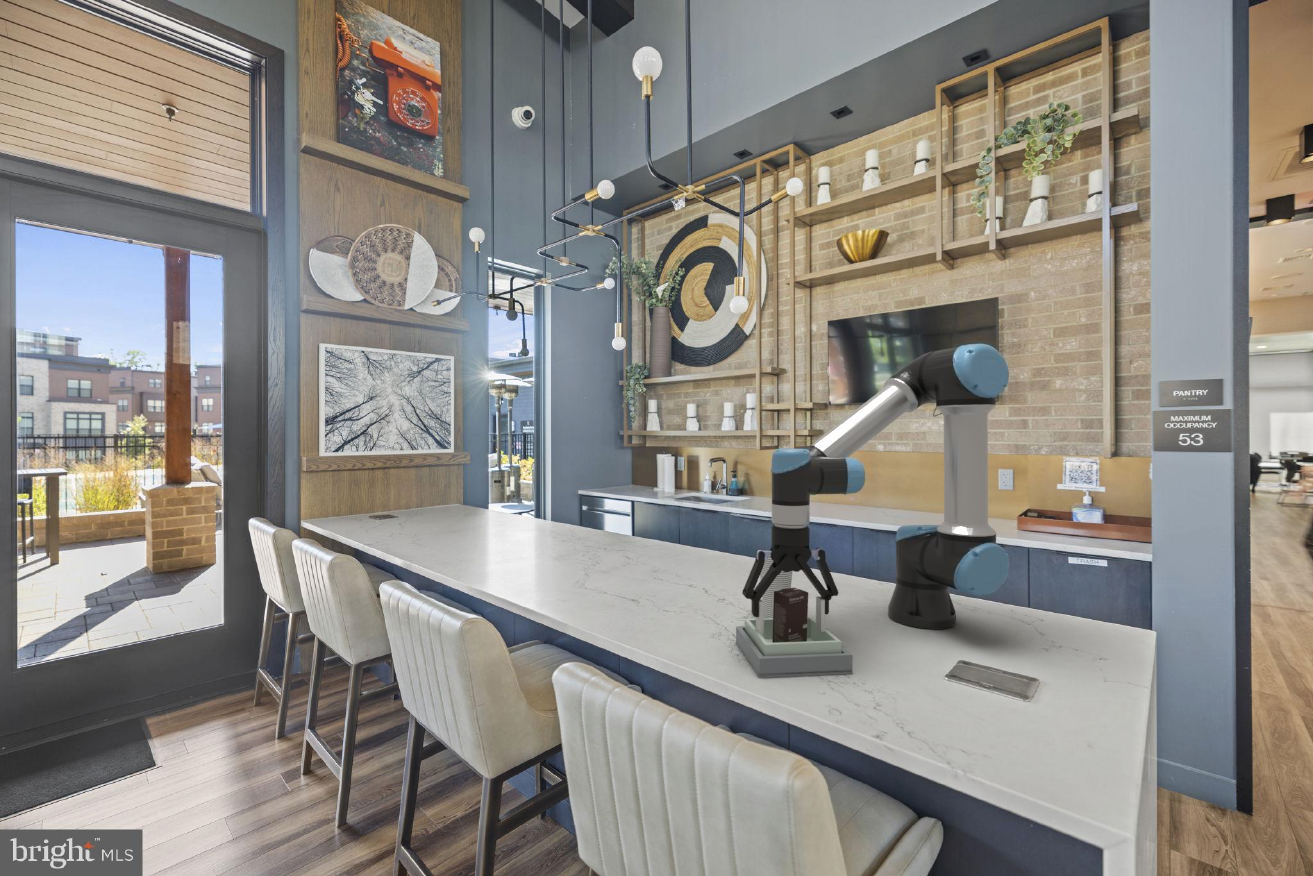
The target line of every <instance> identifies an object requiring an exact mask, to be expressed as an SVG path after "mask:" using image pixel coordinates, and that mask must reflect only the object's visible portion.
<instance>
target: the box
mask: <svg viewBox="0 0 1313 876" xmlns="http://www.w3.org/2000/svg"><path fill="white" fill-rule="evenodd" d="M808 607H809V591H806V590H803V589H800V588H797V587H791V588H789V589H782V590H778V591H774V606H773V639H772V643H781V642H807V617H808V615H809V614H808V613H809V612H808V611H809V610H808V609H809V608H808Z"/></svg>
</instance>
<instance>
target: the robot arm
mask: <svg viewBox="0 0 1313 876" xmlns="http://www.w3.org/2000/svg"><path fill="white" fill-rule="evenodd" d="M1007 363H1008V362H1007V361H1006V359H1005V358H1004V356H1003V354H1001V353H999V351H998V349H997V348H995V347H993V346H991V345H989V344H985V343H972V344H971V343H970V344H969V343H968V344H963V345H960V346H954V347H949V348H945V349H940V350H939V349H938V350H931V351H929V352H927V353H924V354H922V355H920V356H919V357H917V358H914V359H913V360H912V361H910V362H909V363H908V364H906V365H904V366H903V367H902V368H901V369H899V370H898V371H897V372H895V373H894V374H893V375H892V376H890V377H889V378H888V379H886V380H885V382H884V383H883V388H882V389H881V390H879V391H878V392H876V393H875V395H873V396H871V397H870V398H869V399H868V400H867V401H865V402H864V403H863V404H862V405H860V406H859V407H857V408H856V409H855V410H854V411H852V413H850V414H848V415H847V416H846V417H845V418H844V419H842V420H841V421H840V422H839V423H837V424H836V425H835V426H833V427H832V428H831V429H829V431H827V432H825V434H823V435H822V436H821V437H820V438H818V439H817V440H816V441H814V442H813V443H812V444H811V445H809V446H807V447H806V448H777V449H775V450H774V451H773V452H772V455H771V456H772V458H771V469H770V472H771V473H770V474H771V523H773V525H772V526H771V547H770V549H769V550H761V549H759V548H758V549H756V550H755V560H754V563H753V565H752V567H751V570H750V572H749V575H748V577H747V579H746V582H745V585H744V587H743V590H742V595H743V596H744V598H746V599H747V600H751V601H750V602H751V615H752V616H753V617H754V618H755V619H756V629H757V630H758V631H759V633H760V634H761V635H764V618H765V617H764V602H763V601H762V596H763V595H764V593H765V592H766V591H767V589H768V588H769V586H770V585H771V584H772V582H773V581H774V579H775V578H776V577H777V575H779V574H780V573H781V571H784V572H790V571H792V572H796V573H800V571H801V572H803V575H805V577H806V578H807V579H808V580H809V582H810V583H811V585H812V586H813V587H814V589H815V590H816V591H817V592H818V594H819V595H820V596H817V595H816V596H815V618H816V619H815V620H816V628H817V629H818V630H819V631H820V632H825V628H826V626H825V625H826V618H825V617H826V616H825V615H829V614H830V601H831V600H832V599H833V597H837V596H838V595H839V590H838V588H837V585H836V583H835V580H834V578H833V576H832V573H831V571H830V569H829V566H828V563H827V562H826V561H827V560H826V559H827V558H826V551H825V550H824V549H823V548H820V547H816V548H814V549H811V547H810V543H811V542H810V541H811V540H810V539H811V537H810V536H811V535H810V534H811V533H810V527H809V526H808V525H809V524H810V523H811V522H810V517H811V516H810V510H811V508H810V502H811V496H816V495H844V496H846V495H849V494H856V493H859V492H860V491H861V490H862V489H863V487H864V486H865V484H866V483H865V482H866V470H865V467H864V465H863V463H862V462H861V460H859V459H858V458H855V457H850V456H852V455H853V454H855V452H857V451H858V450H859V449H861V448H862V447H863V446H865V444H867V443H868V442H869V441H870V440H872V439H873V438H874V437H876V436H877V435H878V434H880V433H881V432H882V431H884V429H886V428H887V427H888V426H889V425H891V424H893V422H895V421H896V420H897V419H898V418H900V417H901V416H902V415H904V414H905V413H912V412H914V411H915V410H917V409H918V408H919V407H921V406H923V405H926V404H929V403H932V402H935V406H936V407H935V408H936V409H937V410H938V411H939V412H940V413H941V415H943V517H944V518H943V522H942V523H940V524H911V525H901V526H899V527H898V528H897V530H896V538H895V587H894V590H893V592H892V595H891V598H890V601H889V604H888V609H887V611H888V612H887V613H888V614H887V615H888V618H890V619H891V620H892V621H894V622H896V623H899V624H902V625H905V626H909V627H914V628H920V629H926V630H927V629H930V630H945V629H950V628H954V627H955V626H956V625H957V613H956V610H955V609H956V608H955V606H954V603H953V600H952V598H951V594H950V591H949V588H951V589H953V590H957V591H959V592H961V593H964V594H969V595H973V596H979V597H982V596H987V595H992V594H993V593H994V592H996V591H997V590H999V589H1000V587H1001V586H1002V585H1003V584H1004V583H1005V582H1006V579H1007V577H1008V575H1009V571H1010V557H1009V555H1008V553H1007V552H1005V551H1006V550H1005V549H1004V547H1002V546H1000V545H999V544H997V531H996V530H995V529H993V528H992V527H991V526H990V524H989V459H988V457H989V447H988V446H989V437H988V436H989V435H988V434H989V433H988V431H989V429H988V426H989V425H988V423H989V422H988V421H989V419H988V418H989V417H988V415H989V413H991V412H992V410H994V409H995V408H996V406H997V405H996V403H997V402H996V401H997V396H999V395H1000V394H1002V393H1003V392H1004V391H1005V388H1006V387H1008V384H1009V381H1010V379H1009V377H1010V372H1009V367H1008V364H1007ZM768 557H771V558H772V560H773V563H772V564H771V566H770V567H769V570H768V571H767V573H766V574H765V575H764V577H763V578H762V580H761V579H760V574H761V571H762V569H763V566H764V562H766V561H767V559H768ZM811 558H812V559H813V560H815V562H816V565H817V567H818V569H819V572H820V574H821V577H822V579H823V583H824V584H825V587H826V588H825V587H824V585H823V584H822V583H821V581H820V580H819V579H818V577H817V575H816V574H815V573H814V571H813V570H812V568H811V567H810V565H809V564H808V562H809V560H810V559H811ZM759 579H760V581H759ZM758 581H759V582H758ZM757 583H758V584H757Z"/></svg>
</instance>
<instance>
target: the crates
mask: <svg viewBox="0 0 1313 876" xmlns="http://www.w3.org/2000/svg"><path fill="white" fill-rule="evenodd" d="M772 639H773V618H765V617H764V635H761V634H760V633H759V631H758V630H757V629H756V618H744V625H736V626H735V643H736V645H737V647H738V648H739V650H740V651H741V652H742V654H743V655H744V657H745V659H746V660H747V661H748V663H749V665H750V666H751V668H752V670H754V672H755V673H756V674H755V675H757V677H758V678H759V679H765V678H766V679H767V678H789V677H812V676H814V677H815V676H816V677H817V676H832V675H833V676H836V675H853V654H852V653H851V652H850V651H849V650H848V649H846V648H845V647H844V646H843V643H842V641H841V640H840V639H839V638H838V637H837V636H836V635H834V634H833V633H832V632H830V631H829V630H828V628H826V627H825V632H820V631H819V630H818V629H817V628H816V619H815V618H814V617H813V616H807V642H781V643H772Z"/></svg>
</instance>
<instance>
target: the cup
mask: <svg viewBox="0 0 1313 876" xmlns="http://www.w3.org/2000/svg"><path fill="white" fill-rule="evenodd" d="M772 563H773V560H772V558H771V557H768V559H767V561H766V562H764V566H763V569H762V571H761V574H760V576H759V579H760V581H761V580H762V578H763V577H764V575H765V574H766V573H767V571H768V570H769V567H770V566H771V564H772ZM792 579H793V571H790V572H784V571H781V573H780V574H779V575H777V577H776V578H775V579H774V581H773V582H772V584H771V585H770V586H769V588H768V589H767V591H766V592H765V593H764V595H763V596H762V598H761V600H762V601H763V602H764V618H773V606H774V591H778V590H782V589H789V588H792Z"/></svg>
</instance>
